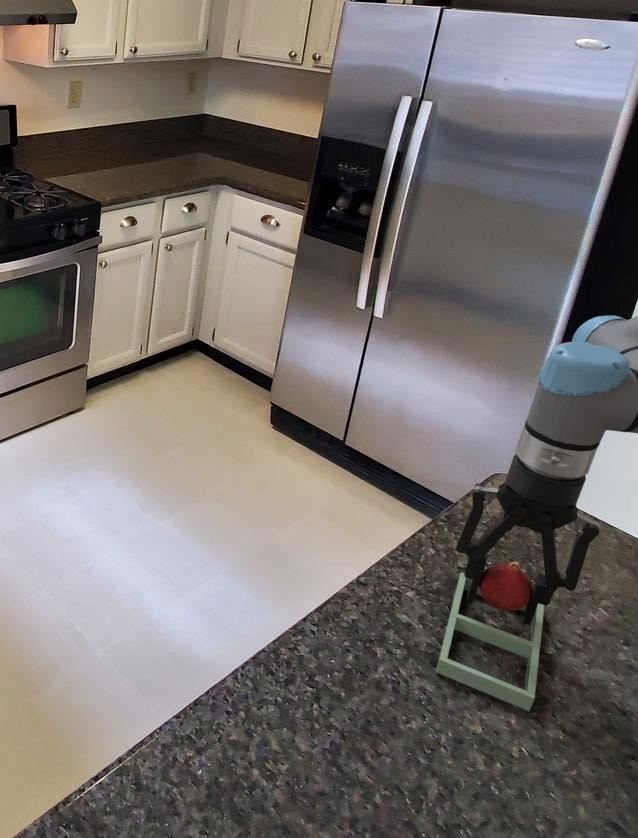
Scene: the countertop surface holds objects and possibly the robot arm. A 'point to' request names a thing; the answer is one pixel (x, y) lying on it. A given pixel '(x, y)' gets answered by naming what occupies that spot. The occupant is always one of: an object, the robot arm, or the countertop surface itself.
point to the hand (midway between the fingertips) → (498, 607)
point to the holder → (498, 639)
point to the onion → (506, 587)
